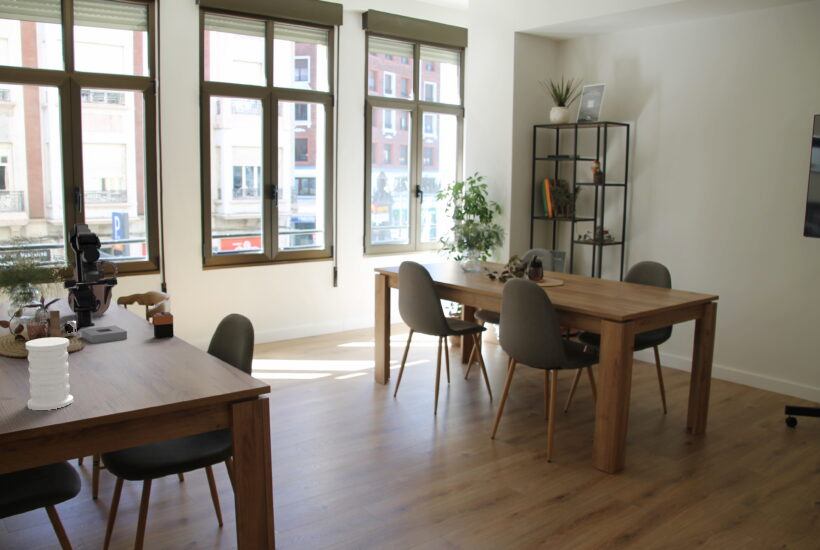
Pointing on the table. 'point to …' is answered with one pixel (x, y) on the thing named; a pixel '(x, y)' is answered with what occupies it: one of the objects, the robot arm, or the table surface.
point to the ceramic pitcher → (95, 289)
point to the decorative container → (48, 373)
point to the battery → (163, 325)
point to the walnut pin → (55, 324)
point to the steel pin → (73, 324)
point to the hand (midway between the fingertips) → (92, 305)
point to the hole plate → (104, 334)
